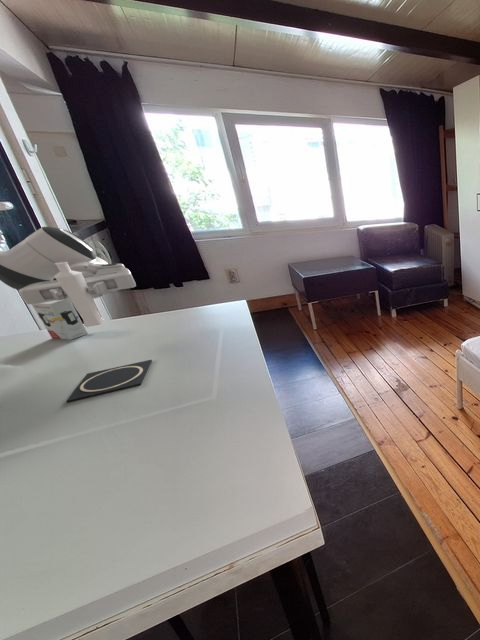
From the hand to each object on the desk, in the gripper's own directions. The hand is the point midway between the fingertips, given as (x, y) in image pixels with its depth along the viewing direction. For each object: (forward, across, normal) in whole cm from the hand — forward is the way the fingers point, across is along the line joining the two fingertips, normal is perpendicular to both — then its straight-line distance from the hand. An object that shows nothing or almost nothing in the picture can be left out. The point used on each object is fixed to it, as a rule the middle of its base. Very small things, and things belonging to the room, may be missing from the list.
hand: (76, 293), depth 85 cm
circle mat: (+8, 0, +20) cm, 21 cm away
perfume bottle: (-1, 0, +8) cm, 8 cm away
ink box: (-38, -14, +20) cm, 45 cm away
